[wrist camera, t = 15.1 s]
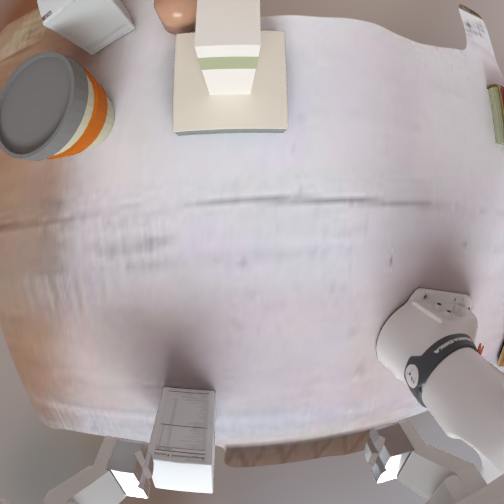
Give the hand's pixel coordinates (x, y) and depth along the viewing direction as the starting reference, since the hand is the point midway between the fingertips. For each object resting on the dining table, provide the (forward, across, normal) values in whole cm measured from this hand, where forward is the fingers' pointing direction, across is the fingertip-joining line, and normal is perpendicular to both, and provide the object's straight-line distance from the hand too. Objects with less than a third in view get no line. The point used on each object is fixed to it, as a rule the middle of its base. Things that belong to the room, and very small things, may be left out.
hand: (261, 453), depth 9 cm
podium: (+34, +1, -22) cm, 41 cm away
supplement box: (+34, +10, +30) cm, 47 cm away
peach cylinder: (+34, +8, -34) cm, 49 cm away
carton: (+30, +1, -22) cm, 37 cm away
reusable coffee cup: (+34, +22, -19) cm, 45 cm away
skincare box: (+34, +20, -34) cm, 52 cm away
